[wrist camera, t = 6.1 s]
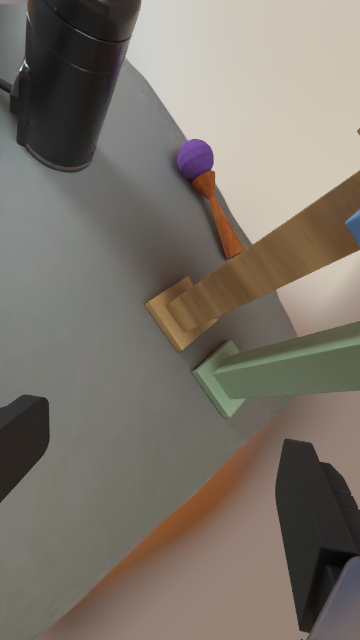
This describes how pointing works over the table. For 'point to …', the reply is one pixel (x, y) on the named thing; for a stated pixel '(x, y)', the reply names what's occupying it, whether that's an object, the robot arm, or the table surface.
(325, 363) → the green pillar
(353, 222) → the peg
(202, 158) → the kendama
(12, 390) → the table surface
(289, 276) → the tall stand
